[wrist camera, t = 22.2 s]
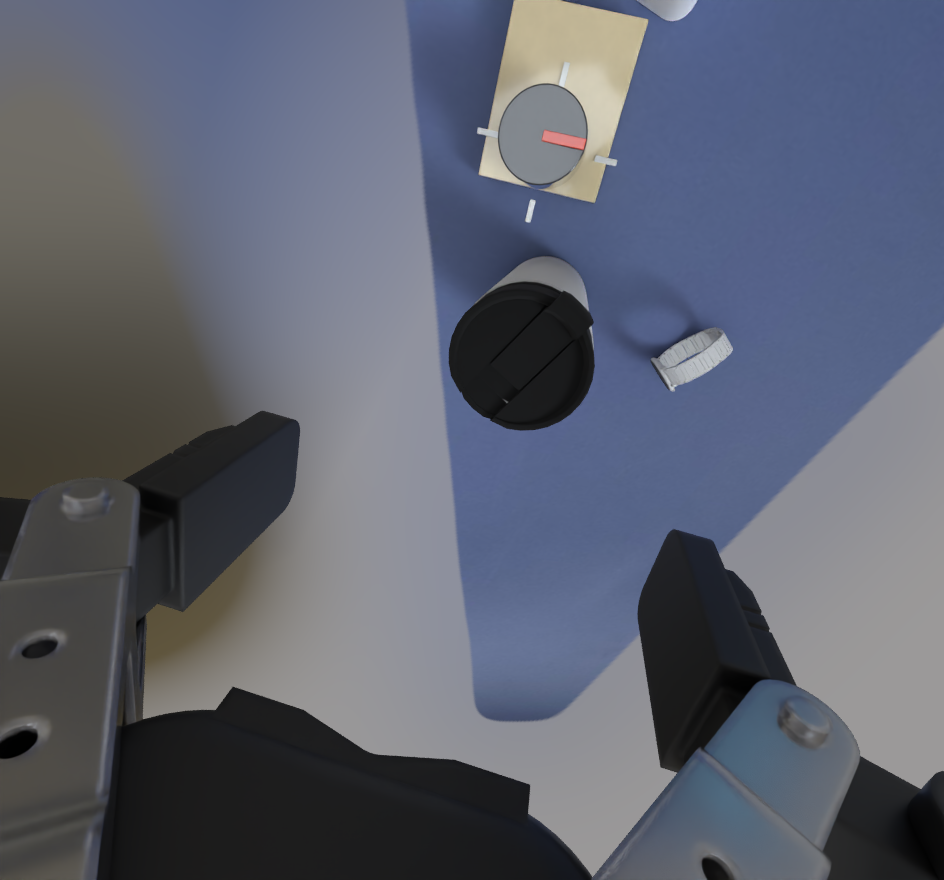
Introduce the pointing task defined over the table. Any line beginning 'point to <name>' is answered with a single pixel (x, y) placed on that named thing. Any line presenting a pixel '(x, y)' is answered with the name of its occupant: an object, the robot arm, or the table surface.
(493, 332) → the travel mug
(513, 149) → the hob knob
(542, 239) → the table surface
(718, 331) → the wristwatch
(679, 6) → the bracket
